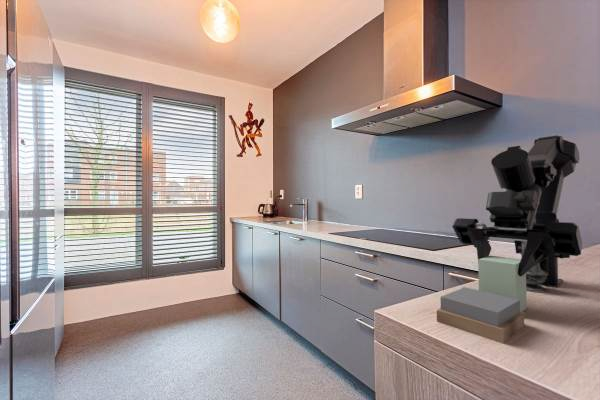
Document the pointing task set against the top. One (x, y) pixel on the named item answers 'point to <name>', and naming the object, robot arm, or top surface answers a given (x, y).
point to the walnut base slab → (482, 325)
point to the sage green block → (502, 278)
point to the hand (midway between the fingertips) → (499, 271)
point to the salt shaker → (534, 276)
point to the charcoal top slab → (481, 306)
